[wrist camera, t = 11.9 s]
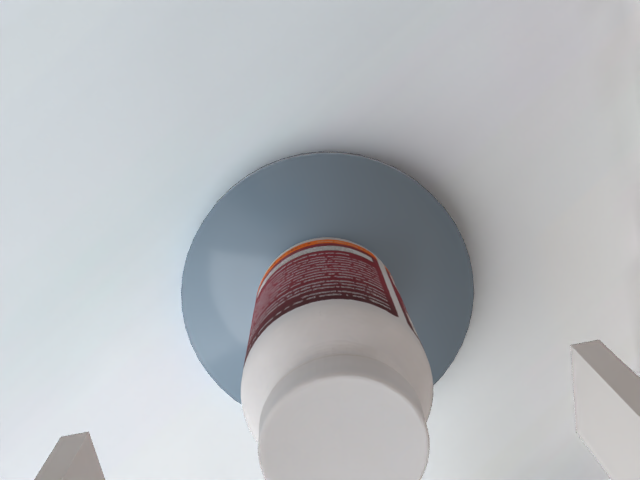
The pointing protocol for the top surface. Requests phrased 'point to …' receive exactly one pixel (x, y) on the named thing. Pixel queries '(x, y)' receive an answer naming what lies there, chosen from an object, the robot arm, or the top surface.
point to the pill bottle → (335, 369)
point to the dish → (316, 222)
